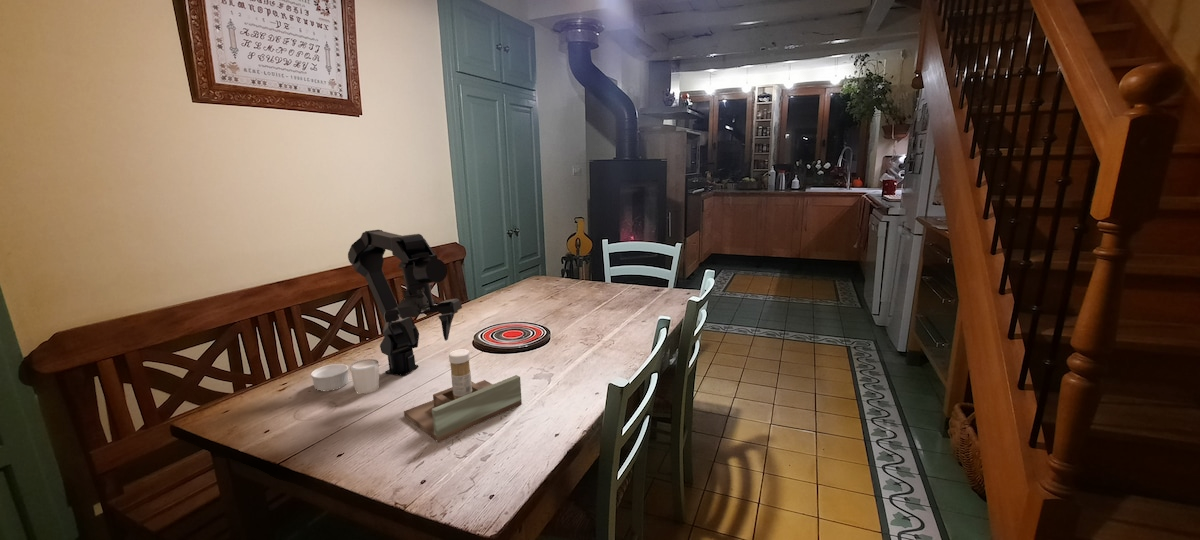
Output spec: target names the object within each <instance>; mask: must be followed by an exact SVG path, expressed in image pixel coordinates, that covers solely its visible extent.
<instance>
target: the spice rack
mask: <svg viewBox="0 0 1200 540" xmlns="http://www.w3.org/2000/svg"><path fill="white" fill-rule="evenodd" d="M471 383H472V393H470V394H468V395H465V396H463V397H460V398H458V399H455V400H454V395H453V388H452V386H451V387H449V388H447V389H446V388H445V389H444V390H441V391H439V392H435V393H434V394H432V399H431V400H429V401H427V402H425V403H422V404H420V405H417V406H414V407H412V408H409V409H406V410H403V415H404V417H405V418H407V420H409V421H410V422H411V423H413V424H415V425H416V426H417V427H418V428H419V429H421V430H422V431H423V432H424V433H425V434H427V435H428V436H429V437H431V438H432V439H434V441H436V442H438V443H440V442H443V441H444V440H447V439H449V438H451V437H453V436H455V435H457V434H460V433H462V432H464V431H466V430H468V429H470V428H472V427H475V426H477V425H478V424H479V425H480V424H481V423H484V422H486V421H488V420H489V419H492V418H494V417H496V416H497V417H498V416H499V415H501V414H503V413H505V412H508V411H510V410H512V409H514V408H517V407H519V406H521V405H523V403H522V402H523V401H522V388H521V387H522V385H521V376H520V375H517V374H515V375H513V376H510V377H508V378H505V379H502V380H501V381H498V382H496V383H491V382H489V381H487V380H486V379H483V380H481V381H478V382H476V383H475V382H473V381H472V380H471Z"/></svg>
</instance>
